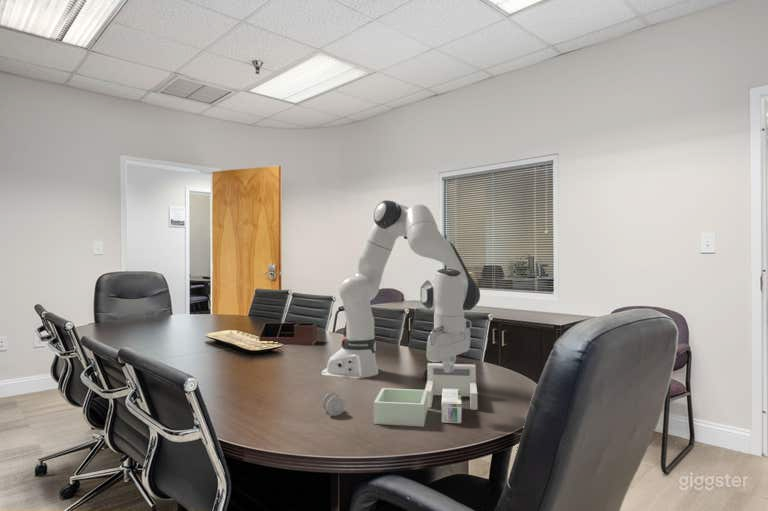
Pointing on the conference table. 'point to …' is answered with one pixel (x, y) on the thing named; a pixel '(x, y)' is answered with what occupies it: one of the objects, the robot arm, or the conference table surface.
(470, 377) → the bay
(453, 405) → the syrup box
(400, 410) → the tray
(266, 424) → the conference table surface
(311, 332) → the desk organizer
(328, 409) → the twin embossed discs
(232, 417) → the conference table surface
